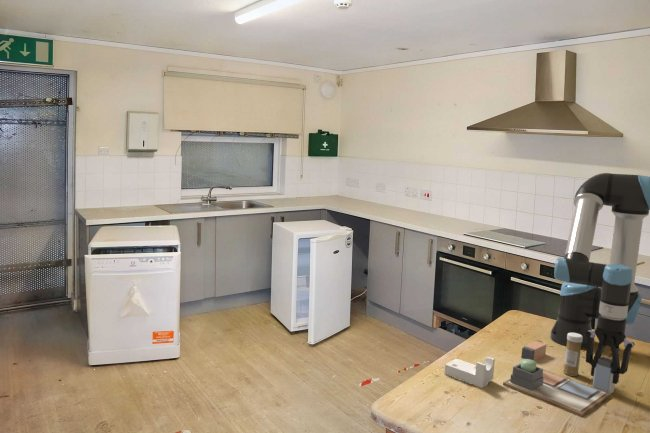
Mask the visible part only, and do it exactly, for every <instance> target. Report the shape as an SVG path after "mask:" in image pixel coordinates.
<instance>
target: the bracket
mask: <svg viewBox="0 0 650 433" xmlns="http://www.w3.org/2000/svg"><path fill="white" fill-rule="evenodd" d="M495 362H496V360H495V358H493V357H490V356H485V360H484V363H482V362H479V361H477V362H476V363H475V364H473V363H471V362H467V361H464V360H462V359H458V358H455V359H453V360H450V361H449V362H447V363H445V364H444V375H445V374H447V375H446V376H448V375H449V376H448V377H451V376H452V378H453V377H455V378H454V379H456V378H457V380H459V379H460V381H461V380H462V381H461V382H464V381H465V382H464V383H467V384H471V385H472V384H473V386H475V387H479V388H480V389H483V388H485V387H486V386H488V385H489V382H491V381H492V380H494V372H495Z"/></svg>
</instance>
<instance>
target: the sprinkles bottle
mask: <svg viewBox="0 0 650 433" xmlns="http://www.w3.org/2000/svg"><path fill="white" fill-rule="evenodd" d="M582 339H583V336H582V335H580V334H578V333H568V334H567V346H566V347H565V354H564V355H565V356H564V365H563V371H562V372H563V373H564V374H565V375H566V376H569V377H577V376H578V375H579V369H580V368H579V367H580V360H581V350H582V348H581V343H582Z"/></svg>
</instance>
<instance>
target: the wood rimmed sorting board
mask: <svg viewBox="0 0 650 433" xmlns="http://www.w3.org/2000/svg"><path fill="white" fill-rule="evenodd" d="M543 377H544V379H543V385H541V386H539V387H538V388H536V389H534V390H532V391H531V390H528V389H526V388H523V387H521V386H518V385H516V384H513V383H511V382H510V379H511V378H509V379H508V380H505V381H503V382H502V385H503V386H505V387H507V388H510V389H512V390H515V391H517V392H519V393H522V394H525V395H527V396H529V397H531V398H534V399H536V400H540V401H542V402H545V403H547V404H549V405H551V406H554V407H556V408H559V409H561V410H563V411H566V412H569V413H571V414H574V415H576V416H579V417H581V418H583V417H584V416H585V415H587V414H588V413H590V412H591V411H592V410H594V409H595V408H596V407H598V406H599V405H601V404H602V403H604V402H605V401H606V400H608V399H609V398H610V397H611V394H612V393H611V394H610V393H607V392H604V391H602V390H599V389H596V388H593V387H592V386H591V385H587V384H584V383H582V382H579V381H576V380H573V379H570V378H568V377H565V376H563V375H560V374H557V373H554V372H552V371H549V370H546V369H543Z"/></svg>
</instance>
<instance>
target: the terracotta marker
mask: <svg viewBox="0 0 650 433" xmlns="http://www.w3.org/2000/svg"><path fill="white" fill-rule="evenodd" d="M546 352H547V343H544V342H541V341H537V340H534V341H532V342H530V343H527V344H526V345H523V347H522V349H521V357H520V358H522V359H530V360H533V361H535V360H537V359H539V358H542V357H543V356H545V355H546Z"/></svg>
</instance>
